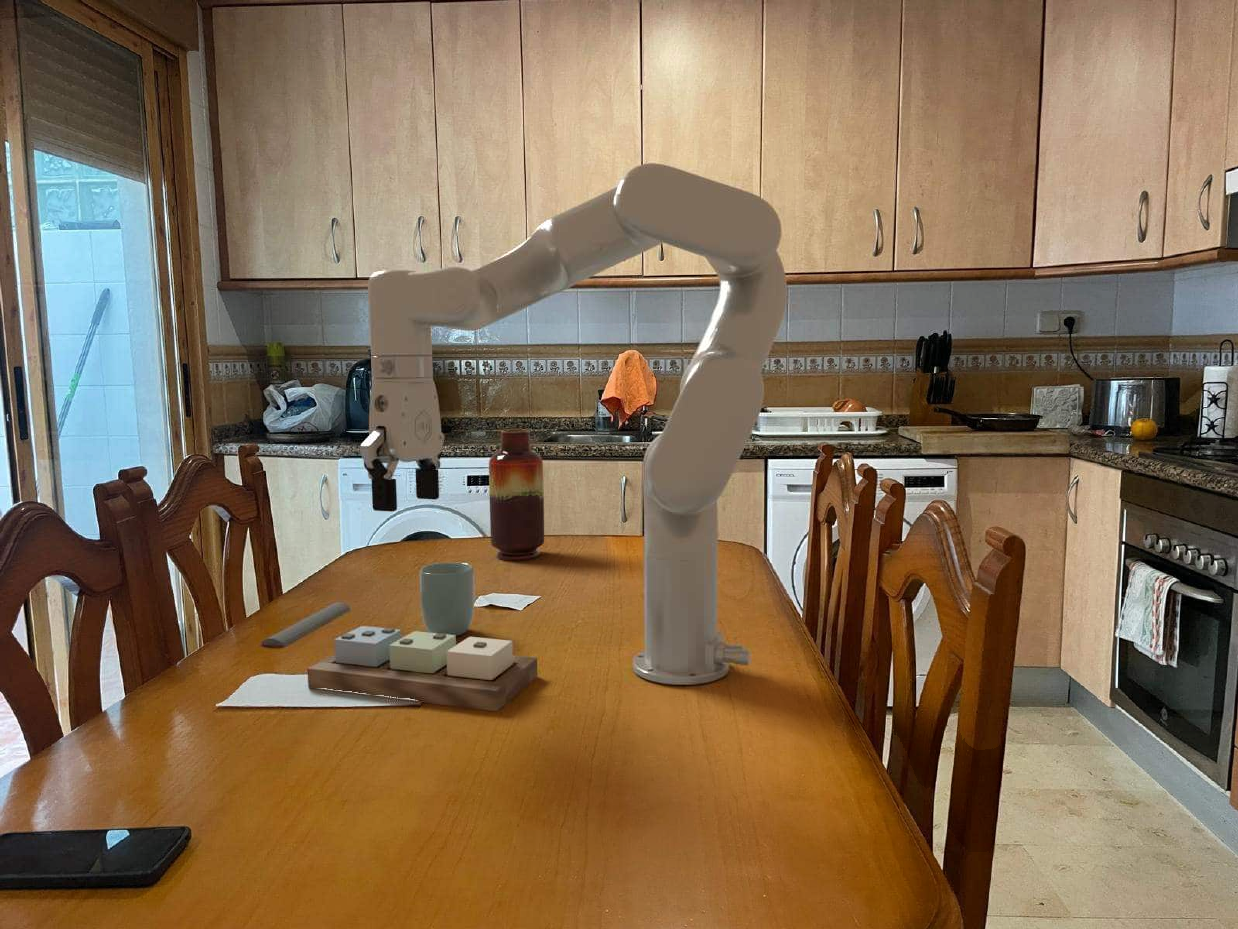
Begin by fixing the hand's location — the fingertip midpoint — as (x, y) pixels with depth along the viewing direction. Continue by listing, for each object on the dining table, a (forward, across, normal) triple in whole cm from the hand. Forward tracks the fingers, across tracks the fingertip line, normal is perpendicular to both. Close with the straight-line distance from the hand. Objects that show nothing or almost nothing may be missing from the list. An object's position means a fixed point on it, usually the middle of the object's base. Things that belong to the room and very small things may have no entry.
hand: (407, 504), depth 115 cm
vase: (+22, +66, +18) cm, 72 cm away
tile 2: (+20, -3, -4) cm, 20 cm away
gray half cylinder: (+23, +12, +27) cm, 37 cm away
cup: (+22, +16, +4) cm, 28 cm away
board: (+22, -3, -4) cm, 23 cm away
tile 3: (+20, -3, +4) cm, 21 cm away
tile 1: (+20, -3, -12) cm, 23 cm away
